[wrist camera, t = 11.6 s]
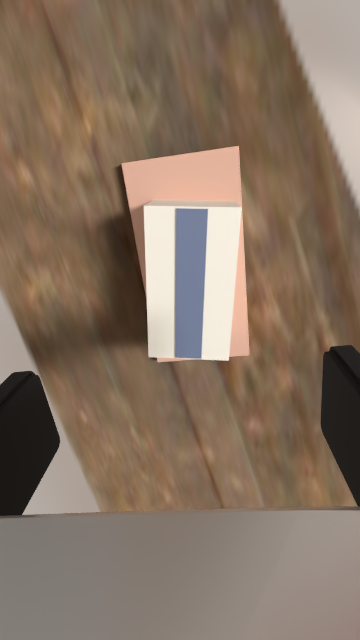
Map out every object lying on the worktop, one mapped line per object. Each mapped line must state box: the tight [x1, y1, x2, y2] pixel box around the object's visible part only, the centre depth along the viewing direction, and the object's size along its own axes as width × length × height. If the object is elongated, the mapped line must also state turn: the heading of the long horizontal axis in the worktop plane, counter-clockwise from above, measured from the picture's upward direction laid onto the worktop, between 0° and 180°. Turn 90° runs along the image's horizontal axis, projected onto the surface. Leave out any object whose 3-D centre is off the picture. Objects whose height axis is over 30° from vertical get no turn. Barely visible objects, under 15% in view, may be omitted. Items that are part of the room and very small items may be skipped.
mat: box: [121, 146, 249, 362], centre depth 22 cm, size 14×7×1 cm, turn 7°
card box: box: [144, 200, 242, 361], centre depth 20 cm, size 5×9×4 cm, turn 179°
